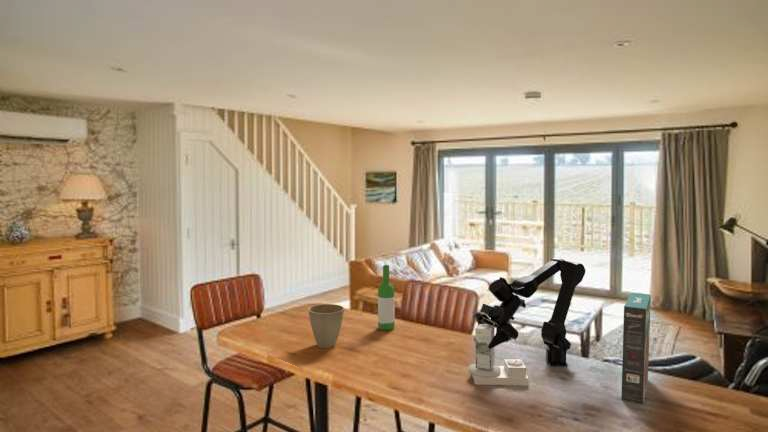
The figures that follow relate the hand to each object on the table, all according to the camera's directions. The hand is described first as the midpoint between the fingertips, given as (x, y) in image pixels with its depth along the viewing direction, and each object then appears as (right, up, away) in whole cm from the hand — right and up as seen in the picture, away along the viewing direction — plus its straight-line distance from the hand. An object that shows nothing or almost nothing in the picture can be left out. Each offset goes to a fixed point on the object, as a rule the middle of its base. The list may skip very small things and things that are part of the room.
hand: (481, 344), depth 170 cm
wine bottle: (-33, -9, +60) cm, 69 cm away
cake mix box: (+49, -13, -8) cm, 52 cm away
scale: (+6, -12, +1) cm, 14 cm away
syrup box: (+1, -8, +1) cm, 9 cm away
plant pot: (-58, -10, +37) cm, 70 cm away
